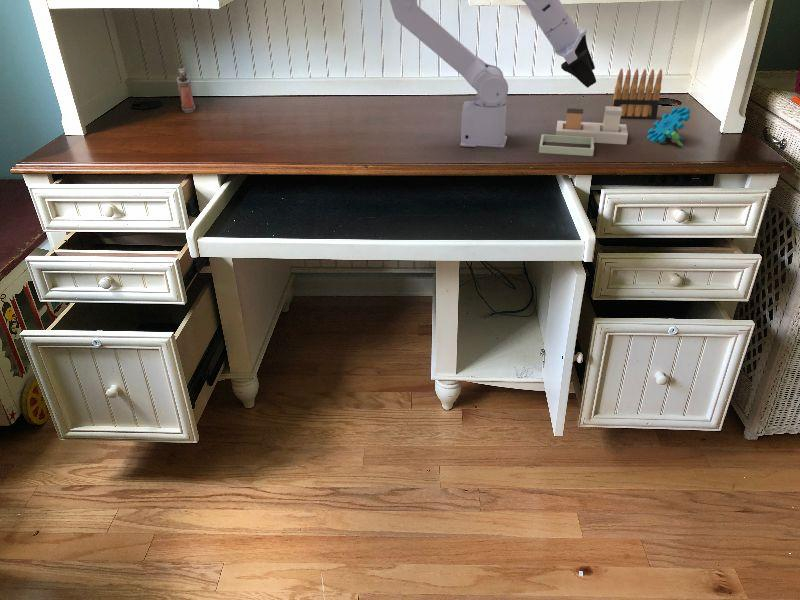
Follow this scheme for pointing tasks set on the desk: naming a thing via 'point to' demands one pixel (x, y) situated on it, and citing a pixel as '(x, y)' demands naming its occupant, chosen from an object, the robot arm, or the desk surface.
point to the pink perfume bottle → (185, 91)
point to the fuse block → (595, 132)
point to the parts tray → (567, 149)
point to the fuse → (612, 118)
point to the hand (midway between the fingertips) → (591, 77)
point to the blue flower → (670, 126)
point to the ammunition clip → (640, 98)
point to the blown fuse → (574, 116)
